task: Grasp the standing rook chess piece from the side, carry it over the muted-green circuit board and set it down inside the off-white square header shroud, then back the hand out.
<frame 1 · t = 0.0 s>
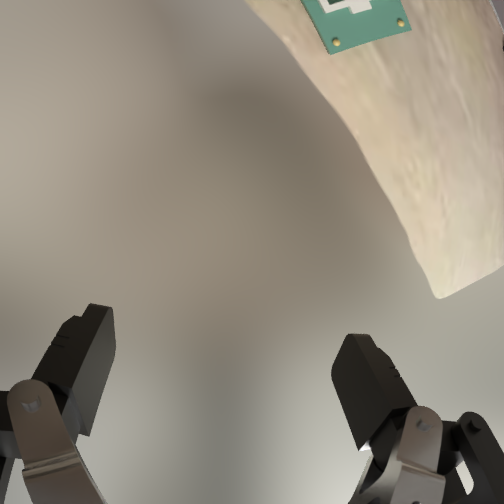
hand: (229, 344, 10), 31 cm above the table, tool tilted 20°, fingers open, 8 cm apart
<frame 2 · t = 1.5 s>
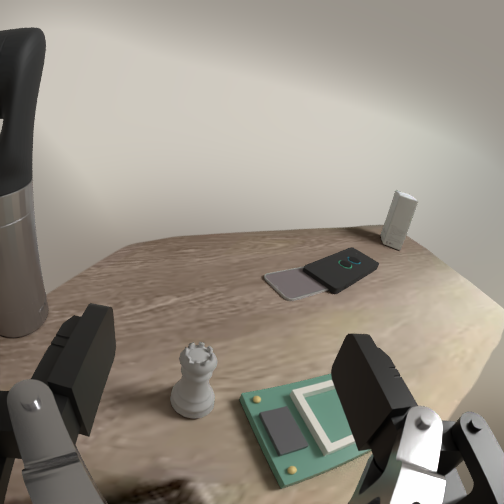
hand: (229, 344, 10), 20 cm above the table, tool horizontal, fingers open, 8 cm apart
smart home device: (342, 272, 61), on the table, touching smartphone
rook chess piece: (191, 403, 28), on the table
header board: (333, 419, 29), on the table
skincare box: (389, 242, 83), on the table
smartphone: (305, 284, 54), on the table, touching smart home device
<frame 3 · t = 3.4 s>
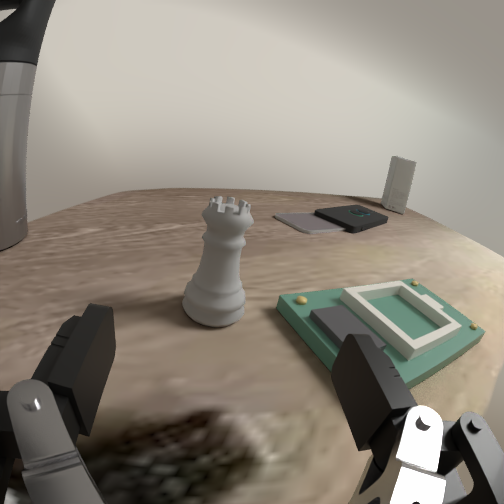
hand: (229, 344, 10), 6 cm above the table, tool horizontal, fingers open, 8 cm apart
smart home device: (354, 222, 57), on the table, touching smartphone
rook chess piece: (212, 313, 22), on the table
header board: (396, 330, 23), on the table
skincare box: (390, 209, 80), on the table
smartphone: (319, 226, 49), on the table, touching smart home device
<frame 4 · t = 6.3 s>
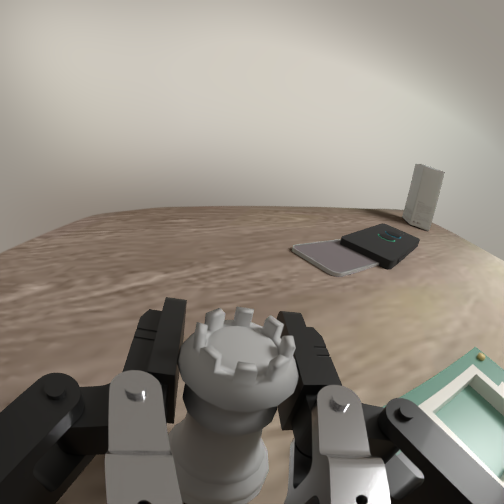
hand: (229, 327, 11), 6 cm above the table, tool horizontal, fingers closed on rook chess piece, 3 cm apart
smart home device: (383, 248, 46), on the table
rook chess piece: (211, 472, 11), on the table, touching gripper
header board: (469, 443, 12), on the table
skincare box: (413, 224, 69), on the table
smartphone: (346, 259, 38), on the table
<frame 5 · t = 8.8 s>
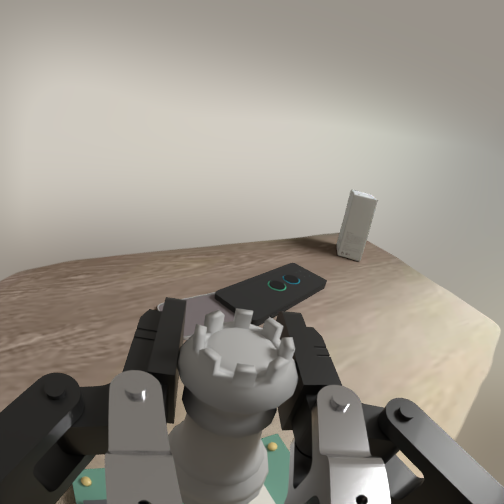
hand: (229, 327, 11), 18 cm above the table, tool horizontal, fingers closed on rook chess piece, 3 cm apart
smart home device: (275, 295, 49), on the table, touching smartphone
rook chess piece: (211, 473, 11), point 12 cm above the table, touching gripper
skincare box: (346, 253, 72), on the table
smartphone: (215, 315, 42), on the table, touching smart home device
when the fingers open (9 cm above the table, at t = 11.3 s): rook chess piece drops 1 cm, resting on header board.
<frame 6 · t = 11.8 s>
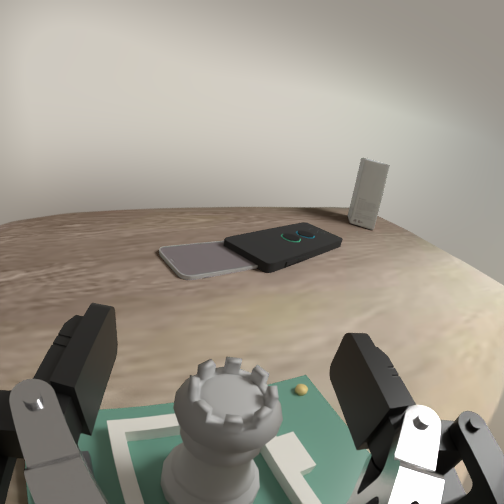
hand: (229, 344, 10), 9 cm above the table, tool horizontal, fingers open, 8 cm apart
smart home device: (288, 249, 45), on the table, touching smartphone
rook chess piece: (208, 487, 11), point 1 cm above the table, touching header board
header board: (206, 492, 12), on the table
skincare box: (358, 223, 68), on the table
smartphone: (224, 261, 38), on the table, touching smart home device
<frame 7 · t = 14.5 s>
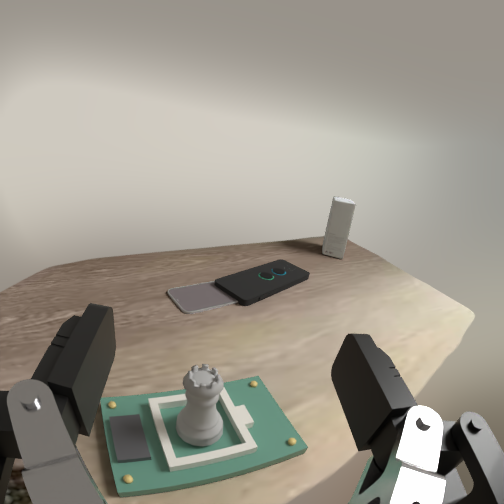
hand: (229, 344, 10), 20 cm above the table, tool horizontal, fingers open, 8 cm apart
smart home device: (264, 284, 60), on the table, touching smartphone
rook chess piece: (199, 431, 25), point 1 cm above the table, touching header board
header board: (198, 435, 26), on the table
skincare box: (331, 252, 83), on the table
smartphone: (214, 298, 52), on the table, touching smart home device
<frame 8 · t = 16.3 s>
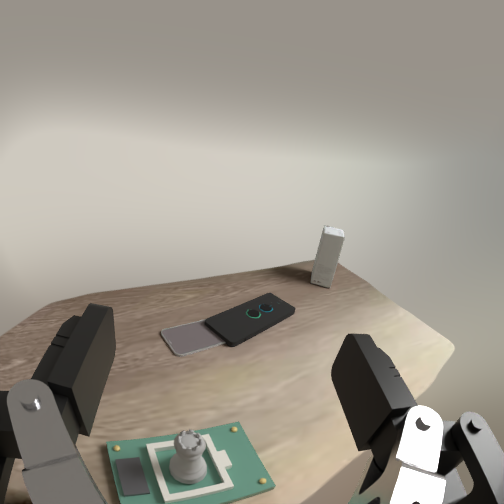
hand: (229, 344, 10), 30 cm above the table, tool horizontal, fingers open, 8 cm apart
smart home device: (252, 321, 63), on the table, touching smartphone
rook chess piece: (187, 470, 29), point 1 cm above the table, touching header board
header board: (187, 472, 29), on the table
skincare box: (319, 280, 86), on the table
smartphone: (204, 337, 55), on the table, touching smart home device
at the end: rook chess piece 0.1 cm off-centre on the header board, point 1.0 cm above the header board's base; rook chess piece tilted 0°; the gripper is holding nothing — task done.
